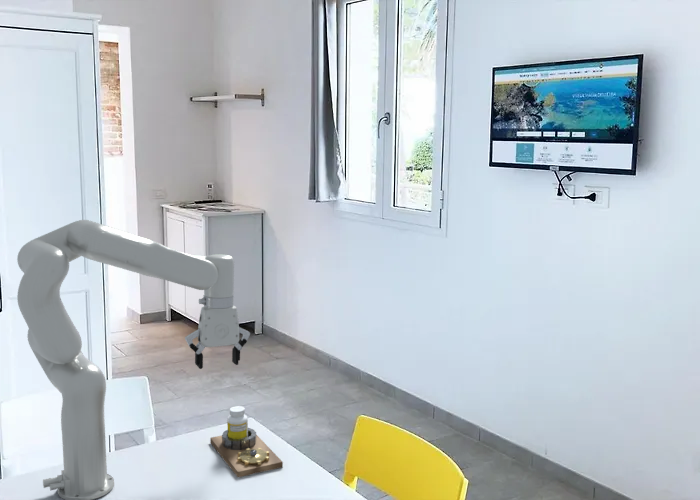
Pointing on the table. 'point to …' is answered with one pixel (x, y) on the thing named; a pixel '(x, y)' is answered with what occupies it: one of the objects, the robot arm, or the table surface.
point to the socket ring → (239, 441)
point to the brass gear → (253, 456)
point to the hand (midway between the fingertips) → (217, 365)
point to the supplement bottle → (237, 423)
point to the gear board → (240, 468)
